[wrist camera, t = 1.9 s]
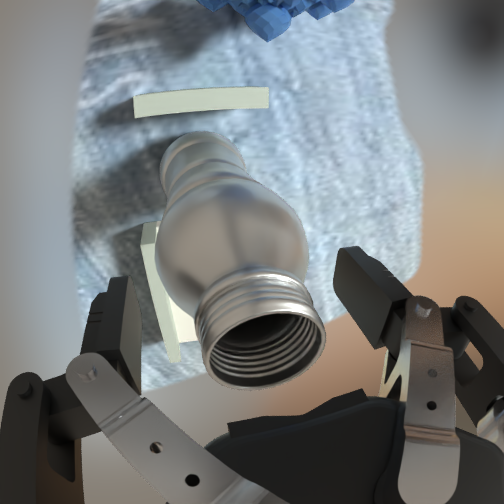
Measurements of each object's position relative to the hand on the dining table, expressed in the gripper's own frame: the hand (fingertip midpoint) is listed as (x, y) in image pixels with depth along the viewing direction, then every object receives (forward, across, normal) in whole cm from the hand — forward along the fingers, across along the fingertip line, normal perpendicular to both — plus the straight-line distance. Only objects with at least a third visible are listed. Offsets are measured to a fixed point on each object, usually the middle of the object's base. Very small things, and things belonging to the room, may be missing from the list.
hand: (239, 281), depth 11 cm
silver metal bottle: (+16, 0, 0) cm, 17 cm away
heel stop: (+16, 0, -6) cm, 17 cm away
